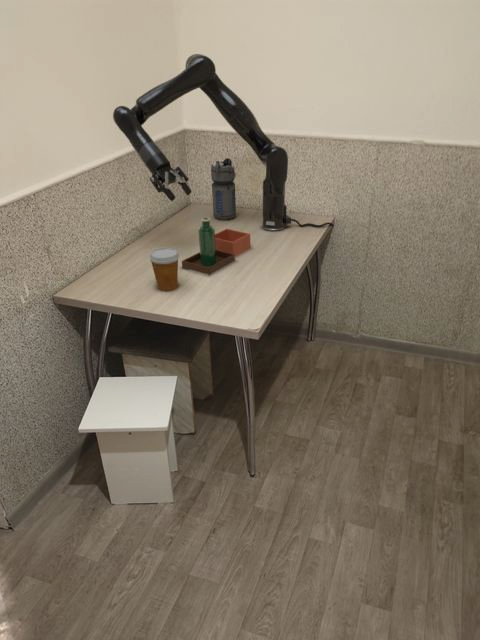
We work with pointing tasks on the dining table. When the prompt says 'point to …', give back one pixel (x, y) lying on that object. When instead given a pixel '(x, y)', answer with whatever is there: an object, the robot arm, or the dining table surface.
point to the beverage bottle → (223, 190)
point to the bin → (232, 241)
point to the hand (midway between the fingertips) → (181, 196)
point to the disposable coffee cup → (165, 267)
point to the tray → (195, 265)
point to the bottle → (207, 243)
